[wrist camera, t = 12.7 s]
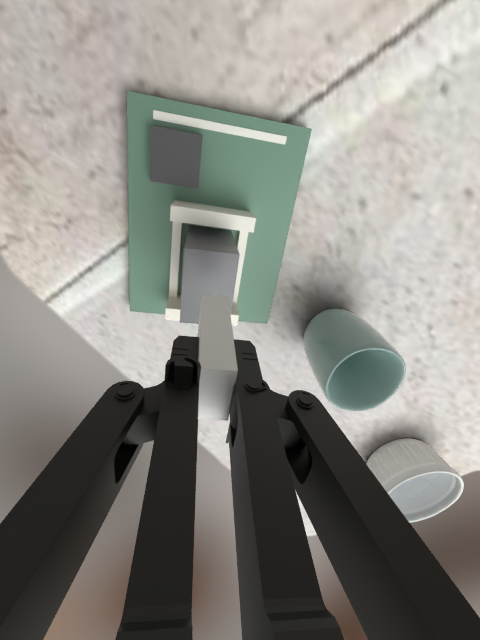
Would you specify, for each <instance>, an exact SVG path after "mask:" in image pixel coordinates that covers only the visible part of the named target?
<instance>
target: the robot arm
mask: <svg viewBox="0 0 480 640" xmlns="http://www.w3.org/2000/svg"><path fill="white" fill-rule="evenodd" d="M229 413H230V425H229V429H228V434H227V439H226V443H229V448H230V462H231V477H232V492H233V507H234V522H235V535H236V551H237V566H238V581H239V596H240V610H241V625H242V639H243V640H344V638H343V635H342V632H341V629H340V627H339V625H338V623H337V621H336V619H335V617H334V616H333V615H332V614H331V613H330V612H329V611H328V610H327V609H326V607H325V605H324V602H323V599H322V596H321V592H320V588H319V584H318V580H317V576H316V572H315V568H314V564H313V560H312V556H311V552H310V548H309V544H308V540H307V536H306V532H305V528H304V524H303V520H302V516H301V512H300V508H299V504H298V500H297V496H296V492H297V494H298V496H299V498H300V500H301V502H302V504H303V506H304V508H305V511H306V513H307V515H308V517H309V519H310V521H311V523H312V525H313V527H314V529H315V531H316V533H317V535H318V537H319V539H320V541H321V543H322V545H323V547H324V549H325V552H326V553H327V556H328V558H329V560H330V562H331V564H332V566H333V568H334V570H335V572H336V574H337V576H338V578H339V580H340V582H341V584H342V586H343V589H344V591H345V593H346V595H347V597H348V599H349V601H350V603H351V605H352V607H353V609H354V611H355V613H356V615H357V617H358V619H359V621H360V623H361V625H362V628H363V630H364V632H365V633H366V636H367V638H368V640H480V618H479V617H478V615H477V614H476V613H475V611H474V610H473V609H472V607H471V606H470V604H469V603H468V602H467V600H466V599H465V597H464V596H463V595H462V593H461V592H460V591H459V589H458V588H457V587H456V585H455V584H454V583H453V581H452V580H451V579H450V577H449V576H448V574H447V573H446V572H445V570H444V569H443V568H442V566H441V565H440V564H439V562H438V561H437V560H436V558H435V557H434V555H433V554H432V553H431V551H430V550H429V549H428V547H427V546H426V545H425V543H424V542H423V540H422V539H421V538H420V537H419V535H418V534H417V532H416V531H415V530H414V528H413V527H412V526H411V524H410V523H409V521H408V520H407V519H406V517H405V516H404V515H403V513H402V512H401V511H400V509H399V508H398V507H397V505H396V504H395V502H394V501H393V500H392V498H391V497H390V496H389V494H388V493H387V492H386V490H385V489H384V488H383V486H382V485H381V483H380V482H379V481H378V479H377V478H376V477H375V475H374V474H373V473H372V471H371V470H370V469H369V467H368V466H367V465H366V463H365V462H364V460H363V459H362V458H361V456H360V455H359V454H358V452H357V451H356V450H355V448H354V447H353V446H352V444H351V443H350V441H349V440H348V439H347V437H346V436H345V435H344V433H343V432H342V431H341V429H340V428H339V427H338V425H337V424H336V422H335V421H334V420H333V418H332V417H331V416H330V414H329V413H328V412H327V410H326V409H325V408H324V406H323V405H322V403H321V402H320V401H319V400H318V399H317V398H316V397H315V396H314V395H313V394H311V393H309V392H306V391H303V390H296V391H293V392H291V393H290V395H289V397H288V396H285V395H281V394H278V393H276V392H273V391H272V390H270V388H269V386H268V384H267V383H266V382H265V381H264V380H263V379H262V375H261V370H260V366H259V362H258V358H257V353H256V349H255V346H254V345H253V344H252V343H251V342H250V341H245V340H234V338H233V330H232V323H231V315H230V308H229V300H228V297H221V296H212V295H202V299H201V309H200V318H199V327H198V337H189V336H178V337H177V338H176V339H175V340H174V341H173V347H172V353H171V358H170V360H168V362H167V363H166V370H165V380H164V381H163V382H162V383H161V384H159V385H157V386H153V387H149V388H144V389H143V387H142V386H141V385H140V384H138V383H136V382H133V381H123V382H118V383H116V384H114V385H112V386H111V387H110V388H109V389H107V391H106V392H105V393H104V395H103V396H102V397H101V398H100V399H99V401H98V402H97V403H96V405H95V406H94V407H93V408H92V409H91V411H90V412H89V413H88V414H87V416H86V417H85V418H84V419H83V421H82V422H81V423H80V425H79V426H78V427H77V428H76V430H75V431H74V432H73V433H72V435H71V436H70V437H69V438H68V440H67V441H66V442H65V443H64V445H63V446H62V447H61V448H60V450H59V451H58V452H57V454H56V455H55V456H54V457H53V459H52V460H51V461H50V462H49V464H48V465H47V466H46V467H45V469H44V470H43V471H42V472H41V474H40V475H39V476H38V477H37V478H36V480H35V481H34V482H33V484H32V485H31V486H30V487H29V489H28V490H27V491H26V492H25V494H24V495H23V496H22V497H21V499H20V500H19V501H18V502H17V504H16V505H15V506H14V507H13V509H12V510H11V511H10V512H9V514H8V515H7V516H6V518H5V519H4V520H3V521H2V522H1V524H0V640H43V639H44V637H45V635H46V633H47V631H48V629H49V627H50V625H51V623H52V621H53V619H54V617H55V615H56V613H57V611H58V609H59V607H60V605H61V603H62V602H63V599H64V598H65V596H66V594H67V592H68V590H69V588H70V586H71V584H72V582H73V580H74V578H75V576H76V574H77V572H78V570H79V569H80V567H81V565H82V563H83V561H84V559H85V557H86V555H87V553H88V551H89V549H90V547H91V545H92V543H93V541H94V539H95V537H96V536H97V534H98V532H99V530H100V528H101V526H102V524H103V522H104V520H105V518H106V516H107V514H108V512H109V510H110V508H111V506H112V504H113V502H114V500H115V499H116V497H117V495H118V493H119V491H120V489H121V487H122V485H123V483H124V481H125V479H126V477H127V475H128V473H129V471H130V469H131V467H132V465H133V464H134V461H135V460H136V458H137V455H138V454H139V452H140V450H141V448H142V446H143V443H145V442H149V441H153V440H154V445H153V450H152V456H151V461H150V467H149V472H148V478H147V483H146V490H145V495H144V500H143V506H142V512H141V517H140V522H139V528H138V534H137V539H136V545H135V550H134V556H133V561H132V566H131V572H130V577H129V584H128V588H127V594H126V600H125V605H124V611H123V616H122V620H121V624H120V627H119V629H118V632H117V636H116V640H192V619H191V608H192V578H193V549H194V520H195V491H196V462H197V461H196V460H197V433H198V419H208V420H228V418H229ZM295 490H296V492H295Z"/></svg>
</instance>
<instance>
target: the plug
mask: <svg viewBox="0 0 480 640" xmlns="http://www.w3.org/2000/svg"><path fill="white" fill-rule="evenodd" d="M239 256H240V254H239V251H238V248H237V245H236V242H235V239H234V237H233V234H232V231H230V230H222V229H214V228H206V227H198V226H191V225H189V229H188V233H187V237H186V241H185V246H184V255H183V273H182V290H181V308H180V322H183V323H196V324H199V318H200V309H201V299H202V295H212V296H221V297H228V300H229V308H230V315H231V311H232V304H233V297H234V291H235V284H236V277H237V270H238V263H239Z"/></svg>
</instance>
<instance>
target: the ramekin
mask: <svg viewBox="0 0 480 640" xmlns="http://www.w3.org/2000/svg"><path fill="white" fill-rule="evenodd" d="M366 465H367V466H368V467H369V469H370V470H371V471H372V473H373V474H374V475H375V477H376V478H377V479H378V481H379V482H380V483H381V485H382V486H383V488H384V489H385V490H386V492H387V493H388V494H389V496H390V497H391V498H392V500H393V501H394V502H395V504H396V505H397V507H398V508H399V509H400V511H401V512H402V513H403V515H404V516H405V517H406V519H407V520H408V521H409V522H415V521H420V520H423V519H426V518H429V517H432V516H434V515H436V514H438V513H440V512H441V511H443V510H445V509H446V508H448V507H449V506H450V505H452V504H453V503H454V502H455V501H456V500H457V499H458V498H459V496H460V495H461V493H462V491H463V487H464V485H463V480H462V478H461V477H460V475H459V474H458V473H457V471H456V470H455V469H453V468H452V467H450V466H449V465H448V464H447V463H446V462H445V461H444V460H443V459H442V458H441V457H440V456H439V455H438V453H436V452H435V451H434V450H433V449H432V448H431V447H430V446H429V445H428V444H426V443H425V442H422V441H419V440H416V439H410V438H405V439H398V440H394V441H391V442H389V443H387V444H385V445H383V446H381V447H380V448H378V449H377V450H376V451H375V452H374V453H373V454H372V455H371V456H370V457H369V459H368V461H367V464H366Z"/></svg>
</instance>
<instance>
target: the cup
mask: <svg viewBox="0 0 480 640" xmlns="http://www.w3.org/2000/svg"><path fill="white" fill-rule="evenodd" d="M304 349H305V353H306V357H307V360H308V362H309V365H310V367H311V369H312V372H313V374H314V376H315V378H316V380H317V382H318V384H319V386H320V388H321V390H322V392H323V393H324V395H325V396H326V398H327V399H328V401H329V402H331V403H332V404H333V405H334V406H336V407H338V408H341V409H344V410H349V411H363V410H368V409H372V408H375V407H377V406H379V405H381V404H382V403H384V402H385V401H387V400H388V399H389V398H390V397H391V396H392V395H393V394H394V393H395V392H396V391H397V390H398V388H399V387H400V385H401V384H402V381H403V379H404V376H405V372H406V367H405V362H404V360H403V358H402V356H401V355H400V354H399V353H398V352H397V351H396V350H395V348H394V347H393V346H392V345H391V344H390V343H389V342H388V341H387V340H386V339H385V338H384V337H383V336H382V335H381V334H380V333H379V332H378V331H377V330H376V329H375V328H374V327H373V326H371V325H370V324H369V323H368V322H367V321H365V320H364V319H362V318H361V317H359V316H358V315H356V314H354V313H352V312H350V311H347V310H343V309H328V310H325V311H322V312H320V313H318V314H317V315H316V316H315V317H314V318H313V319H312V320H311V321H310V323H309V324H308V326H307V328H306V331H305V334H304Z"/></svg>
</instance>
